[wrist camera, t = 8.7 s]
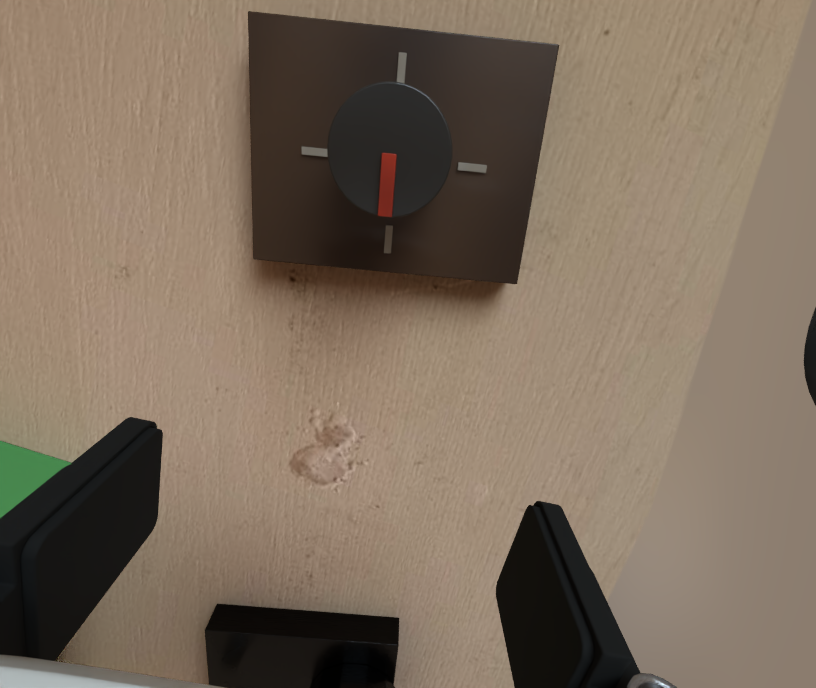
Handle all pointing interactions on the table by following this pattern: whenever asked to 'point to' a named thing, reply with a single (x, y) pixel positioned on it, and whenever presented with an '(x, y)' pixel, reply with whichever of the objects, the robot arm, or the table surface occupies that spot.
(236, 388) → the table surface
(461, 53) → the dimmer panel
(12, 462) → the green cradle stand
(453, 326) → the table surface
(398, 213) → the dimmer knob
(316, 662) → the lamp base
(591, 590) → the robot arm
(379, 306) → the table surface
